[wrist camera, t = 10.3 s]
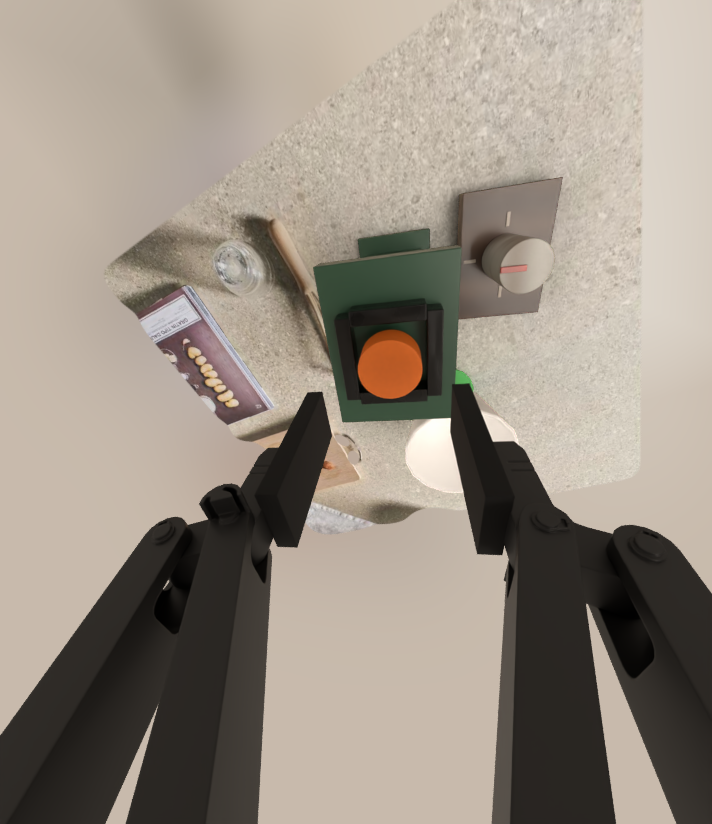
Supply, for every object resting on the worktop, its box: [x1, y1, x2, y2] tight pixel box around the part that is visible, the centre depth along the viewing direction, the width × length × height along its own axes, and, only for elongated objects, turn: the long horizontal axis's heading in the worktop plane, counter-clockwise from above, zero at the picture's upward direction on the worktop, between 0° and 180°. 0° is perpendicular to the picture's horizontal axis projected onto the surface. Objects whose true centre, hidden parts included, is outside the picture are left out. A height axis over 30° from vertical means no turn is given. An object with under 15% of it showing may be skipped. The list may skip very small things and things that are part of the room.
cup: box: [405, 370, 520, 493], centre depth 44 cm, size 14×14×16 cm
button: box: [358, 330, 423, 399], centre depth 20 cm, size 4×4×2 cm
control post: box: [313, 228, 462, 422], centre depth 31 cm, size 12×9×26 cm
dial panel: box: [457, 177, 563, 319], centre depth 37 cm, size 14×10×3 cm
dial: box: [482, 233, 555, 294], centre depth 33 cm, size 5×5×8 cm
